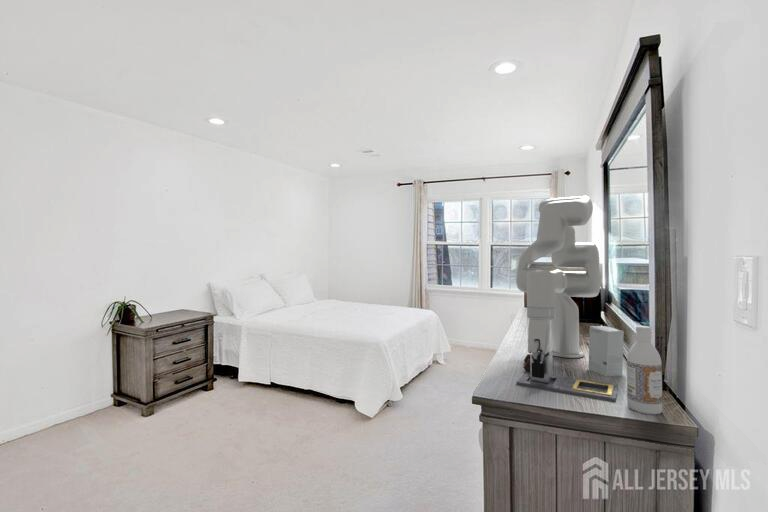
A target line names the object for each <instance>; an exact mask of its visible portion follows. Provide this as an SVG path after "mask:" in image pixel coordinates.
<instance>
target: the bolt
mask: <svg viewBox="0 0 768 512" xmlns="http://www.w3.org/2000/svg"><path fill="white" fill-rule="evenodd" d="M531 354H532V353H528V354H526V356H525V358H524V359H523V362H524V365H523V369H524V371H525V373H526V372H527V371H528V372H530V355H531Z"/></svg>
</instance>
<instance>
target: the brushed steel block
mask: <svg viewBox="0 0 768 512" xmlns="http://www.w3.org/2000/svg"><path fill="white" fill-rule="evenodd" d="M530 354H531V355H530V378H531V382H537V383H543V384H549V385H551V383H552V382H553V375H554V373H553V371H554V370H553V368H554V367H553V365H554V363H553V361H554V359H553V355H552V354H550V353H547V354H545V355H544V357H543V364H544V378H536V377H532V353H530ZM540 358H541V356H540Z"/></svg>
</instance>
